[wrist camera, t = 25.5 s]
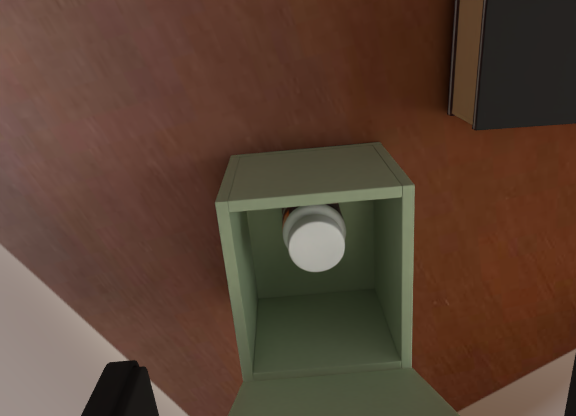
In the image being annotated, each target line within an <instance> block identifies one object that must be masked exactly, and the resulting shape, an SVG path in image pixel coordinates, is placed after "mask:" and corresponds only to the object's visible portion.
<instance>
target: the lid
mask: <svg viewBox="0 0 576 416" xmlns="http://www.w3.org/2000/svg"><path fill="white" fill-rule="evenodd" d="M228 416H460V415H459V414H458V413H457V412H456V411H455V410H454V409H453V408H452V407H451V406H450V405H449V404H448V403H447V402H446V401H445V400H444V399H443V398H442V397H441V396H440V395H439V394H438V393H437V392H436V391H435V390H434V389H433V388H432V387H431V386H430V385H429V384H428V383H427V382H426V381H425V380H424V379H423V378H422V377H421V376H420V375H419V374H418V373H417V372H416V371H415V370H414V369H413V368H407V369H395V370H383V371H371V372H359V373H347V374H334V375H322V376H310V377H298V378H286V379H274V380H262V381H250V382H243V383H242V385H241V387H240V390H239V392H238V394H237V397H236V399H235V401H234V403H233V406H232V408H231V410H230V412H229V415H228Z"/></svg>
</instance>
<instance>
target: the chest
mask: <svg viewBox="0 0 576 416" xmlns="http://www.w3.org/2000/svg"><path fill="white" fill-rule="evenodd" d="M414 195H415V185H414V184H413V182H412V181H411V180H410V179H409V178H408V176H407V175H406V174H405V173H404V171H403V170H402V169H401V168H400V166H399V165H398V164H397V163H396V162H395V160H394V159H393V158H392V157H391V155H390V154H389V153H388V152H387V150H386V149H385V148H384V147H383V146H382V144H381V143H380V142H374V143H363V144H352V145H341V146H330V147H319V148H308V149H297V150H286V151H275V152H264V153H253V154H241V155H231V157H230V160H229V163H228V166H227V169H226V172H225V175H224V178H223V181H222V184H221V186H220V189H219V192H218V195H217V198H216V201H215V206H216V213H217V219H218V225H219V232H220V238H221V244H222V251H223V257H224V263H225V269H226V276H227V282H228V288H229V295H230V301H231V307H232V314H233V320H234V326H235V332H236V339H237V345H238V351H239V358H240V364H241V370H242V377H243V382H250V381H262V380H274V379H286V378H298V377H310V376H322V375H334V374H347V373H359V372H371V371H383V370H395V369H407V368H411V367H412V310H413V253H414ZM331 203H338V204H339V207H340V210H341V213H342V216H343V219H344V222H345V226H346V237H345V250H344V254H343V256H342V258H341V260H340V261H339V262H338V263H337V264H336V265H335V266H334V267H332V268H330V269H328V270H325V271H321V272H310V271H306V270H303V269H301V268H300V267H298V266H297V265H296V264H295V263H294V262H293V261H292V259H291V257H290V255H289V251H288V248H287V247H286V245H285V243H284V240H283V232H282V208H286V207H297V206H309V205H320V204H331Z"/></svg>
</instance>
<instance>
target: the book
mask: <svg viewBox="0 0 576 416" xmlns="http://www.w3.org/2000/svg"><path fill="white" fill-rule="evenodd" d="M447 115H449V116H457V117H459V118H461V119H463V120H464V121H466V122H468V123H470V124H472V129H474V130H488V129H502V128H516V127H531V126H545V125H559V124H573V123H576V0H455V4H454V19H453V35H452V50H451V66H450V81H449V97H448V112H447Z"/></svg>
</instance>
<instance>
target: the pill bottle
mask: <svg viewBox="0 0 576 416" xmlns="http://www.w3.org/2000/svg"><path fill="white" fill-rule="evenodd" d="M282 232H283V240H284V243H285V245H286V247H287V248H288V251H289V255H290V257H291V259H292V261H293V262H294V263H295V264H296V265H297V266H298V267H300V268H301V269H303V270H306V271H310V272H321V271H325V270H328V269H330V268H332V267H334V266H335V265H336V264H337V263H338V262H339V261H340V260H341V258H342V256H343V254H344V250H345V237H346V226H345V222H344V219H343V216H342V213H341V210H340V207H339V204H338V203H331V204H320V205H309V206H297V207H286V208H282Z"/></svg>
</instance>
